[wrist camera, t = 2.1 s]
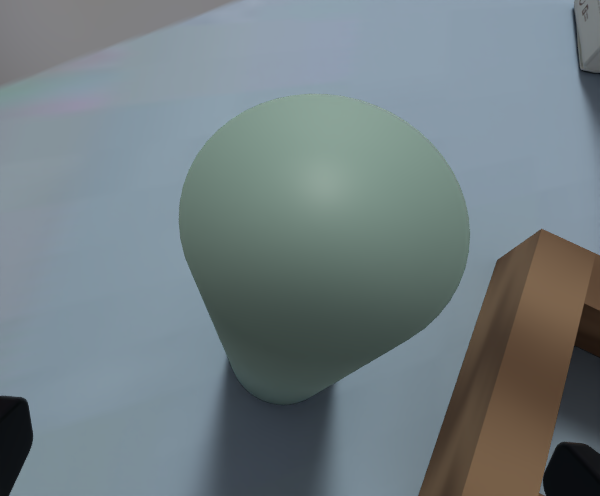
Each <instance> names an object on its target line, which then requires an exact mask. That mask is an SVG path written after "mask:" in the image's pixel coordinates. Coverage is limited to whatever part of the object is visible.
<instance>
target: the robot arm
mask: <svg viewBox="0 0 600 496" xmlns="http://www.w3.org/2000/svg"><path fill="white" fill-rule="evenodd" d="M32 442H33V430H32V424H31V418H30V412H29V405H28V402H27V401H26V399H25V398H22V397H13V396H0V496H9V494H10V492H11V490H12V488H13V486H14V484H15V481H16V479H17V477H18V475H19V473H20V471H21V469H22V466H23V464H24V462H25V460H26V458H27V456H28V454H29V451H30V449H31V446H32ZM543 486H544V491H545V494H546V496H600V454H599V453H598V452H596V451H595V450H594V449H592V448H591V447H589V446H588V445H586V444H582V443H572V442H561V443H560V444H558V445H557V447H556V448H555V451H554V453H553V455H552V457H551V459H550V461H549V464H548V466H547V468H546V470H545V472H544V476H543Z"/></svg>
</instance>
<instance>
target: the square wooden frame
mask: <svg viewBox="0 0 600 496" xmlns="http://www.w3.org/2000/svg"><path fill="white" fill-rule="evenodd" d="M574 345H575V346H577V347H579V348H581V349H583V350H585V351H587V352H590V353H592V354H594V355H596V356H598V357H600V255H598V254H595V253H593V252H591V251H589V250H587V249H585V248H582V247H580V246H578V245H576V244H574V243H572V242H569V241H567V240H565V239H563V238H561V237H558V236H556V235H554V234H552V233H550V232H548V231H545V230H543V229H541V230H539V231H538V232H536V233H535V234H534V235H532V236H531V237H529V238H528V239H527V240H525V241H524V242H522V243H521V244H519V245H518V246H517V247H515V248H514V249H512V250H511V251H510V252H508V253H507V254H505V255H504V256H502V257H501V258H500V259H498V260H497V262H496V265H495V268H494V271H493V274H492V277H491V280H490V283H489V286H488V289H487V292H486V295H485V298H484V301H483V304H482V307H481V310H480V313H479V316H478V319H477V322H476V325H475V328H474V331H473V334H472V337H471V340H470V343H469V346H468V349H467V352H466V355H465V358H464V361H463V364H462V367H461V370H460V373H459V376H458V379H457V382H456V385H455V388H454V391H453V394H452V397H451V400H450V403H449V406H448V409H447V412H446V415H445V418H444V421H443V424H442V427H441V430H440V433H439V436H438V439H437V442H436V445H435V448H434V451H433V454H432V457H431V460H430V463H429V466H428V469H427V472H426V475H425V478H424V481H423V484H422V487H421V490H420V493H419V495H418V496H544V495H542V494H540V493H539V491H540V487H541V482H542V478H543V474H544V470H545V466H546V461H547V457H548V453H549V449H550V444H551V440H552V436H553V432H554V428H555V423H556V419H557V415H558V411H559V407H560V402H561V398H562V394H563V390H564V386H565V381H566V377H567V373H568V369H569V365H570V360H571V356H572V352H573V348H574Z"/></svg>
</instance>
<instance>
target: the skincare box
mask: <svg viewBox="0 0 600 496" xmlns="http://www.w3.org/2000/svg"><path fill="white" fill-rule="evenodd" d="M574 11H575V16H576V24H577V39H578V53H579V61H580V69H581V70H585V71H589V72H594V73H600V0H575V1H574Z"/></svg>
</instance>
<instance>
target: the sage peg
mask: <svg viewBox="0 0 600 496" xmlns="http://www.w3.org/2000/svg"><path fill="white" fill-rule="evenodd" d="M179 228H180V239H181V243H182V247H183V251H184V255H185V258H186V261H187V263H188V265H189V268H190V270H191V273H192V275H193V278H194V280H195V282H196V285H197V287H198V289H199V292H200V294H201V296H202V299H203V301H204V303H205V306H206V308H207V310H208V313H209V315H210V317H211V320H212V322H213V324H214V327H215V329H216V331H217V334H218V336H219V338H220V341H221V343H222V345H223V348H224V350H225V352H226V355H227V357H228V359H229V361H230V364H231V366H232V368H233V371H234V373H235V375H236V377H237V379H238V380H239V382H240V383H241V384H242V386H243V387H244V388H245V389H246V390H247V391H248V392H249V393H251V394H252V395H253V396H255V397H257V398H259V399H260V400H263V401H265V402H268V403H272V404H280V405H287V404H294V403H298V402H301V401H304V400H306V399H308V398H310V397H312V396H313V395H315V394H317V393H319V392H320V391H322V390H324V389H325V388H327V387H329V386H330V385H332V384H334V383H336V382H337V381H339V380H341V379H342V378H344V377H346V376H347V375H349V374H351V373H352V372H354V371H356V370H358V369H359V368H361V367H363V366H364V365H366V364H368V363H369V362H371V361H373V360H375V359H376V358H378V357H380V356H381V355H383V354H385V353H386V352H388V351H390V350H392V349H393V348H395V347H397V346H398V345H400V344H402V343H403V342H405V341H407V340H409V339H410V338H411V337H413V336H414V335H416V334H417V333H419V332H420V331H422V330H423V329H424V328H426V327H427V326H428V325H429V324H430V323H431V322H432V321H433V320H434V319H435V318H436V317H437V316H438V315H439V314H440V313H441V312H442V310H443V309H444V308H445V306H446V305H447V304H448V303H449V301H450V300H451V298H452V296H453V294H454V293H455V291H456V289H457V287H458V286H459V283H460V281H461V278H462V275H463V273H464V270H465V267H466V262H467V257H468V253H469V241H470V229H469V217H468V212H467V207H466V203H465V199H464V196H463V194H462V191H461V188H460V185H459V183H458V181H457V179H456V177H455V175H454V173H453V171H452V170H451V168H450V167H449V165H448V164H447V162H446V161H445V159H444V158H443V156H442V155H441V154H440V153H439V151H438V150H437V149H436V148H435V147H434V145H433V144H432V143H431V142H430V141H429V140H428V139H427V138H425V137H424V136H423V135H422V134H421V133H420V132H419V131H418V130H416V129H415V128H414V127H412V126H411V125H410V124H408V123H407V122H406V121H404V120H402V119H401V118H399V117H397V116H396V115H394V114H392V113H391V112H388V111H386V110H384V109H382V108H380V107H378V106H375V105H372V104H370V103H367V102H364V101H361V100H357V99H353V98H348V97H344V96H336V95H328V94H304V95H293V96H288V97H283V98H278V99H274V100H271V101H268V102H265V103H262V104H259V105H257V106H255V107H253V108H250V109H248V110H246V111H244V112H243V113H241V114H239V115H238V116H236V117H234V118H233V119H231V120H230V121H229V122H227V123H226V124H225V125H224V126H222V127H221V128H220V129H219V130H218V131H217V132H216V133H215V134H214V135H213V136H212V137H211V138H210V139H209V140H208V141H207V142H206V143H205V145H204V146H203V148H202V149H201V150H200V152H199V153H198V154H197V156H196V158H195V160H194V162H193V163H192V165H191V167H190V169H189V171H188V174H187V177H186V180H185V182H184V185H183V189H182V194H181V199H180V207H179Z"/></svg>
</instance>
